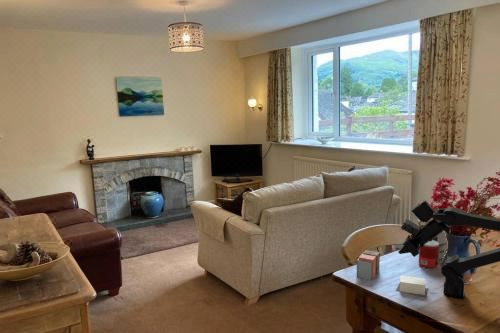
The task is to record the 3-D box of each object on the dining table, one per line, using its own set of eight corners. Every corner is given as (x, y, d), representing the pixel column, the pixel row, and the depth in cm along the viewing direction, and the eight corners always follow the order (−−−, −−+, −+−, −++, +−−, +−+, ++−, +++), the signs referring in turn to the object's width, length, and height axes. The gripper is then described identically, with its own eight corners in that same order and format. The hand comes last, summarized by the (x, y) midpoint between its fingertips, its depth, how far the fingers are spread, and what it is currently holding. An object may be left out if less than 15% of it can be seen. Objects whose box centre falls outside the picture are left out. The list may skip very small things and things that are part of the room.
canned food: (439, 269, 177) (441, 245, 175) (420, 268, 178) (421, 245, 176) (435, 262, 184) (436, 239, 182) (417, 261, 186) (417, 238, 184)
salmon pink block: (375, 276, 172) (375, 256, 170) (372, 280, 169) (373, 259, 167) (361, 273, 175) (361, 253, 173) (358, 277, 172) (358, 257, 170)
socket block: (377, 270, 177) (378, 253, 176) (370, 280, 168) (371, 262, 167) (364, 268, 180) (364, 251, 179) (356, 277, 171) (356, 260, 170)
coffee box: (448, 257, 189) (449, 224, 186) (436, 259, 187) (438, 226, 184) (434, 250, 197) (436, 219, 194) (423, 252, 196) (424, 220, 193)
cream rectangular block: (424, 288, 160) (425, 278, 159) (424, 295, 154) (425, 285, 153) (400, 284, 163) (400, 275, 162) (399, 291, 157) (400, 281, 157)
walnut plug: (379, 271, 176) (379, 252, 175) (376, 275, 173) (377, 255, 171) (365, 269, 179) (365, 249, 178) (362, 272, 176) (363, 253, 174)
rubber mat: (429, 290, 159) (429, 288, 159) (425, 299, 152) (425, 297, 152) (399, 283, 165) (399, 282, 165) (395, 292, 158) (395, 290, 158)
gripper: (419, 208, 165) (390, 230, 173) (410, 221, 149) (378, 244, 157) (439, 229, 162) (409, 251, 170) (432, 245, 146) (399, 267, 154)
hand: (399, 252), depth 163 cm, fingers closed
